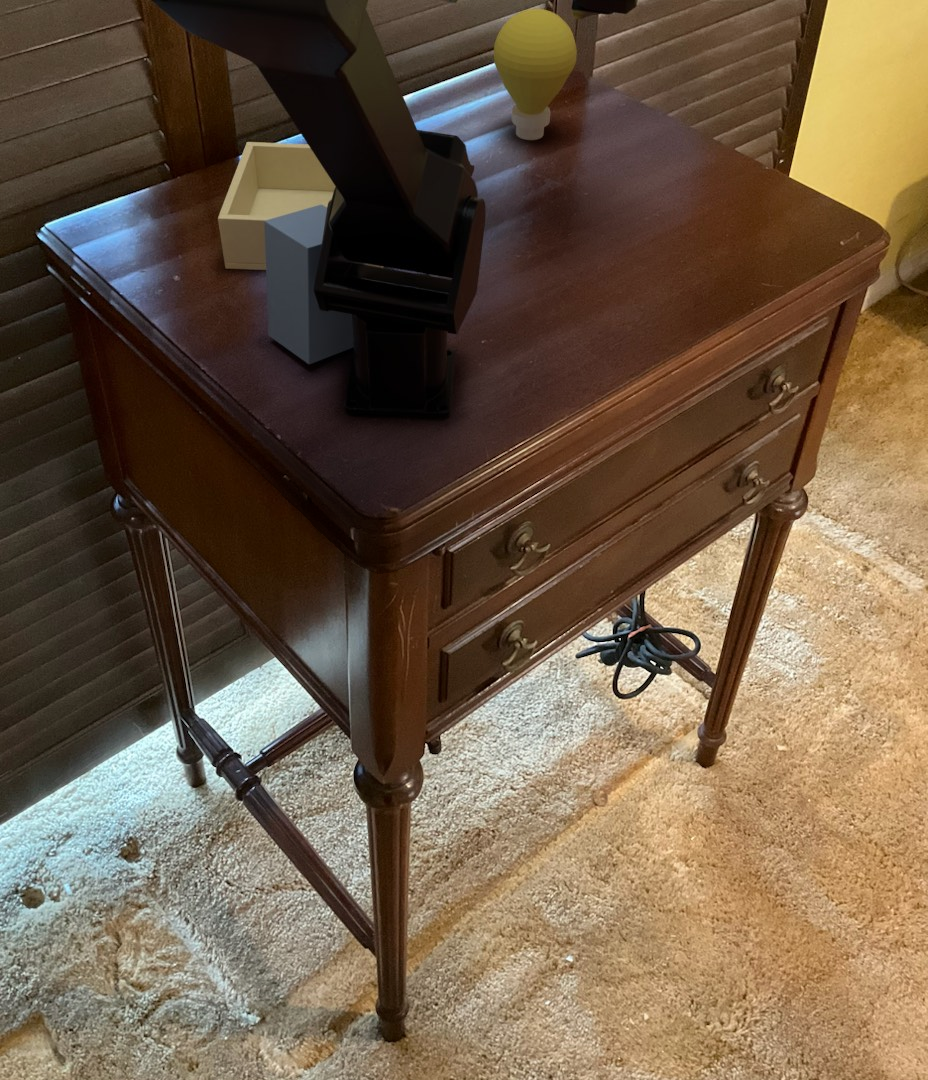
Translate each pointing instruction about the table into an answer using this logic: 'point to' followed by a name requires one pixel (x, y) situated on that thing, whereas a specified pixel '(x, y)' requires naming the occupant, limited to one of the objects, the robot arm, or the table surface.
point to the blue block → (301, 288)
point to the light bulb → (534, 66)
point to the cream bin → (268, 197)
